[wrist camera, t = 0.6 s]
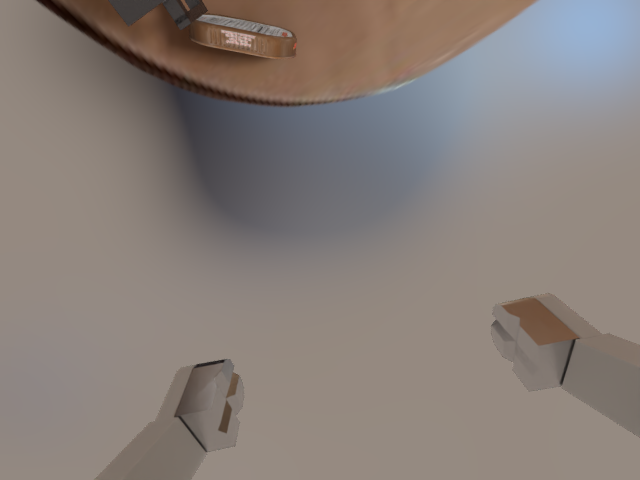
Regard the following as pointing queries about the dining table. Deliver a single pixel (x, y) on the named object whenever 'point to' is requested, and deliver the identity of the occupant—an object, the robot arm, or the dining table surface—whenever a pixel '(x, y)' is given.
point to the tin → (243, 36)
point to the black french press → (136, 3)
